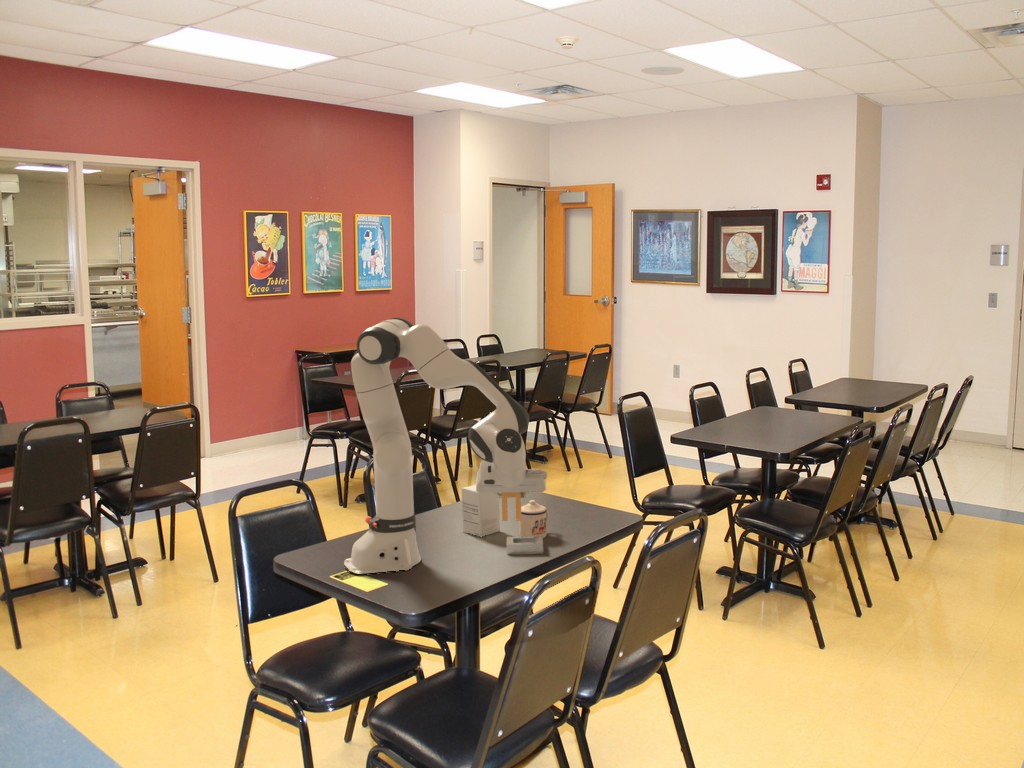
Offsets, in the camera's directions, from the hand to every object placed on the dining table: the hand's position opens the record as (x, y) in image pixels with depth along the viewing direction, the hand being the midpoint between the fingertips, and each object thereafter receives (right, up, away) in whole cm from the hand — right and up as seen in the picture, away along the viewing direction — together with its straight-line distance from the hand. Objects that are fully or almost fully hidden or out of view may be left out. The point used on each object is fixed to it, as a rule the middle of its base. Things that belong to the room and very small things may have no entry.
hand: (511, 495), depth 259 cm
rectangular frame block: (+4, -18, +11) cm, 21 cm away
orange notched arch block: (0, -7, 0) cm, 7 cm away
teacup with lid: (+8, -16, +26) cm, 32 cm away
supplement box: (-10, -16, +31) cm, 36 cm away
